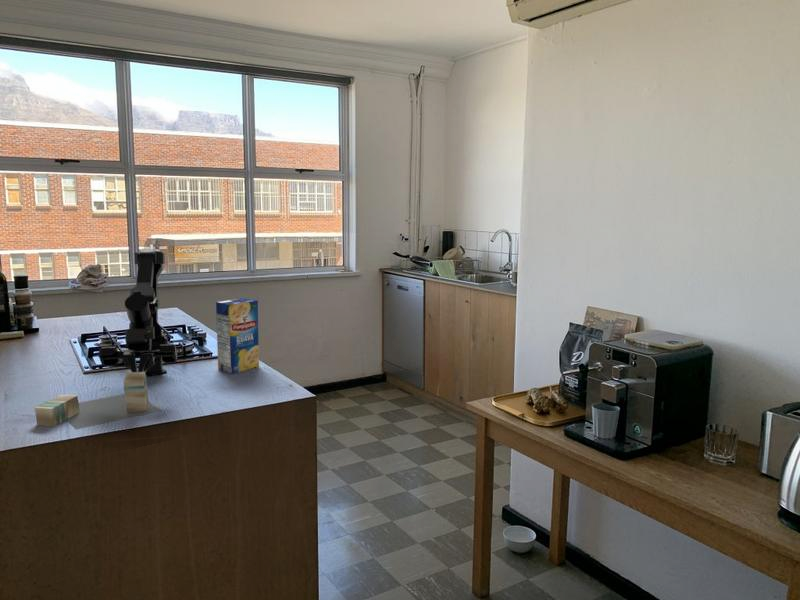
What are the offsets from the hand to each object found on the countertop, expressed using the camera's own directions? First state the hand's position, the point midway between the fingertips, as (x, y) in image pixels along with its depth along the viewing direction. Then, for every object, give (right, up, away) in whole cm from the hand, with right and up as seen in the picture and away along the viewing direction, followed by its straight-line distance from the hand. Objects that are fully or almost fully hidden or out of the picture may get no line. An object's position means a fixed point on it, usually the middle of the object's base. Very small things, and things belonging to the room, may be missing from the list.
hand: (136, 383), depth 156 cm
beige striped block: (-15, -5, -4) cm, 16 cm away
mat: (-7, -7, 0) cm, 10 cm away
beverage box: (+16, -1, +39) cm, 42 cm away
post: (0, -6, 0) cm, 6 cm away
